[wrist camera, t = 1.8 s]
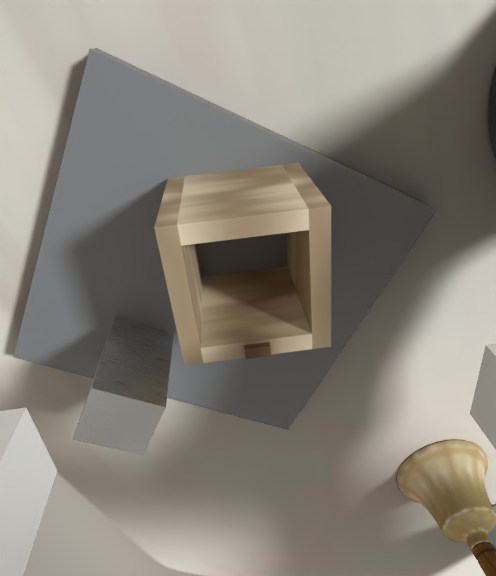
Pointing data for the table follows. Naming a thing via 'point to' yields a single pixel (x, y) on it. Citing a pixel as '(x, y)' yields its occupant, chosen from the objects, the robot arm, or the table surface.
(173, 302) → the hollow wooden cube frame
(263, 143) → the base board
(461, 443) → the hand bell
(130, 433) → the steel block
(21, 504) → the robot arm
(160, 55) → the table surface
